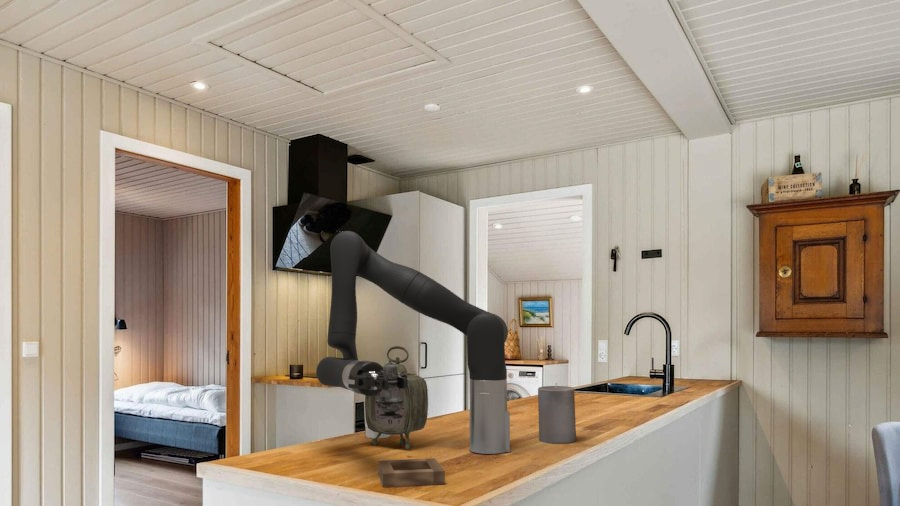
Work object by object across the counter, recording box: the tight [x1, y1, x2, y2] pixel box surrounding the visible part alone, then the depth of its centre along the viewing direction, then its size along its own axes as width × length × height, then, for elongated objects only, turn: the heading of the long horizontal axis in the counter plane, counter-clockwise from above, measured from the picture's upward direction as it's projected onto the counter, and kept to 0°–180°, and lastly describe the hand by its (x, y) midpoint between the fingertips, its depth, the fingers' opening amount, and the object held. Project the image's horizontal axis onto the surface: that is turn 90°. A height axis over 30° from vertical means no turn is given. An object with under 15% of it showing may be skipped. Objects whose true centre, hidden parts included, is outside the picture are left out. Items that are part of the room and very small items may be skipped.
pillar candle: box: [537, 382, 577, 445], centre depth 174 cm, size 10×10×15 cm
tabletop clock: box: [364, 345, 429, 450], centre depth 168 cm, size 14×9×25 cm, turn 56°
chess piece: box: [376, 358, 404, 419], centre depth 137 cm, size 6×6×12 cm
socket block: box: [377, 457, 446, 488], centre depth 132 cm, size 12×12×2 cm
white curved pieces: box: [363, 398, 392, 439], centre depth 180 cm, size 8×8×10 cm
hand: (395, 383), depth 134 cm, fingers closed on chess piece, 3 cm apart
